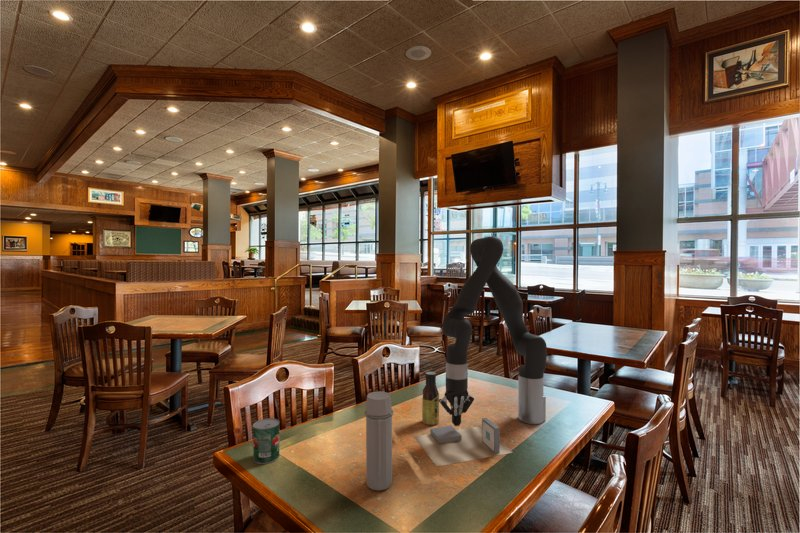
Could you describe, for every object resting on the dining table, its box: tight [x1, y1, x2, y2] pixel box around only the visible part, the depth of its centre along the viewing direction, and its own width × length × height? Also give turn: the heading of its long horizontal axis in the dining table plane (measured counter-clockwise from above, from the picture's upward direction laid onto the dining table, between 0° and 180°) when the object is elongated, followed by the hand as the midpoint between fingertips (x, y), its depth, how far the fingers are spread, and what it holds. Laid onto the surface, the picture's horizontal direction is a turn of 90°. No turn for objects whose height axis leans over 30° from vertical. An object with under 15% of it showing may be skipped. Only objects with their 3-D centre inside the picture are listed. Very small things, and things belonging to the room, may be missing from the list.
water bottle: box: [364, 390, 394, 492], centre depth 105 cm, size 9×8×25 cm
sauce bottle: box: [421, 371, 440, 427], centre depth 143 cm, size 7×6×20 cm
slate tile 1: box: [429, 425, 462, 444], centre depth 131 cm, size 2×8×8 cm
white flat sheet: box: [413, 425, 514, 467], centre depth 126 cm, size 26×20×2 cm
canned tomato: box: [252, 417, 281, 465], centre depth 121 cm, size 8×8×11 cm
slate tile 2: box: [481, 417, 501, 454], centre depth 124 cm, size 2×8×8 cm, turn 18°
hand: (456, 425), depth 132 cm, fingers closed
